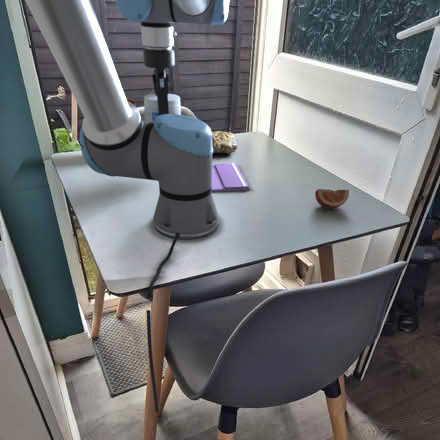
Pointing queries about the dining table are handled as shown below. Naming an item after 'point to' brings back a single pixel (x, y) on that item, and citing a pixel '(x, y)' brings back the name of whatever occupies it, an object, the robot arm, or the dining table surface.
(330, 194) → the fruit slice
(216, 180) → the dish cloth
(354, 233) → the dining table surface
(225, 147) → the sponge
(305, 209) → the dining table surface
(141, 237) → the dining table surface
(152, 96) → the supplement tub
